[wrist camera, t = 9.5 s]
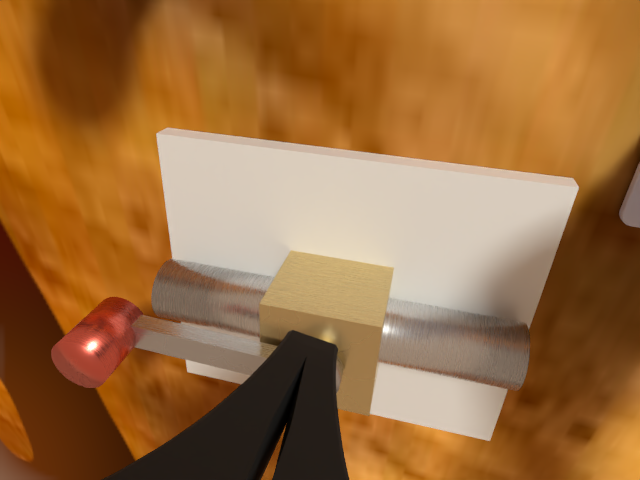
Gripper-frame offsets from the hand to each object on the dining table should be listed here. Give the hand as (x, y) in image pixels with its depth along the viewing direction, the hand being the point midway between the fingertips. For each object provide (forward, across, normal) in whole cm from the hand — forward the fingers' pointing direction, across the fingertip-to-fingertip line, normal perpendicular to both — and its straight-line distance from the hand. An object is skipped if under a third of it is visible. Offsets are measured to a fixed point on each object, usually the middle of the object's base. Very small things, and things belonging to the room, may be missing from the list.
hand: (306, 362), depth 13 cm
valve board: (+10, 0, +5) cm, 11 cm away
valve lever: (+5, +4, +6) cm, 9 cm away
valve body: (+9, 0, +5) cm, 11 cm away
